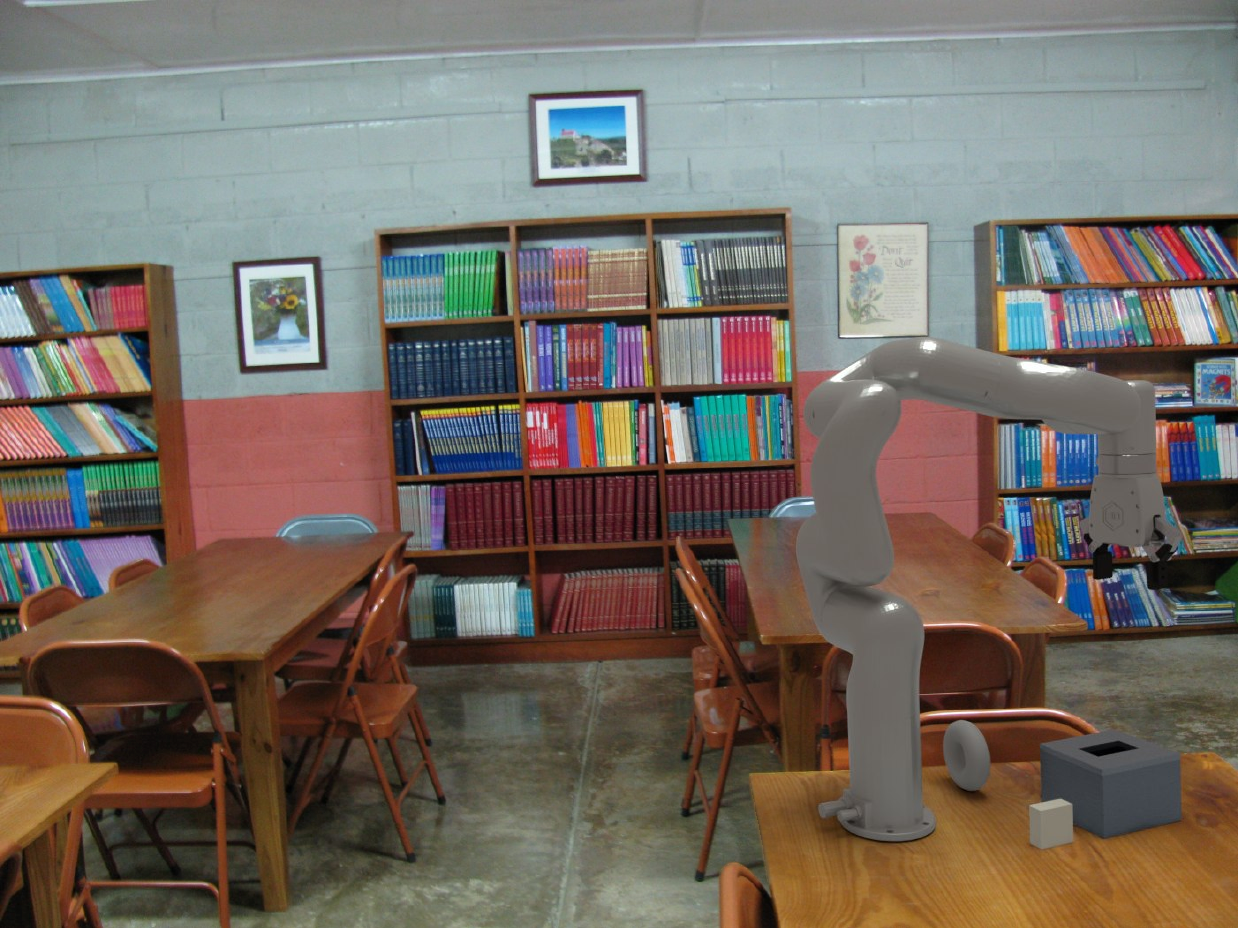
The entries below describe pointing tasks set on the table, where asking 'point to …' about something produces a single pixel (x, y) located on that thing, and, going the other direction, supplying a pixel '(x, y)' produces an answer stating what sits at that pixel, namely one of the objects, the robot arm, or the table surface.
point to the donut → (966, 755)
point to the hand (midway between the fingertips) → (1129, 583)
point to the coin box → (1113, 781)
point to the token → (1051, 823)
